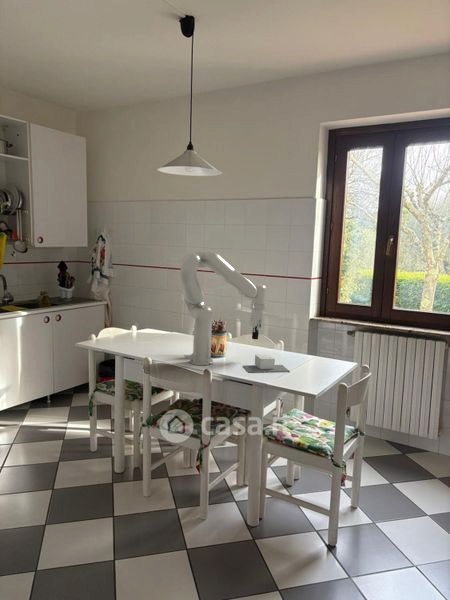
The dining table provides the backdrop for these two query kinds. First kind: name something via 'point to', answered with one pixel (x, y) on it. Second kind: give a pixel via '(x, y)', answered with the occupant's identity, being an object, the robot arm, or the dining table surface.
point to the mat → (257, 370)
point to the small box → (264, 361)
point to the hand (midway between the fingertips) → (254, 338)
